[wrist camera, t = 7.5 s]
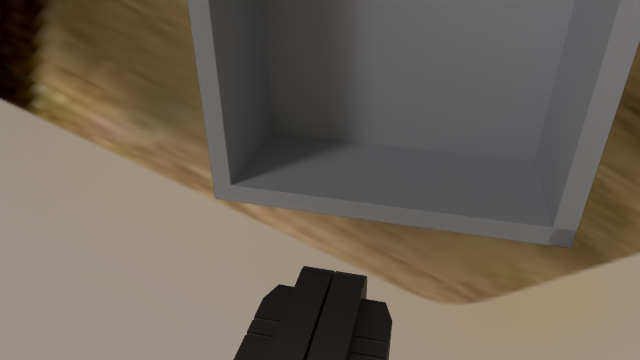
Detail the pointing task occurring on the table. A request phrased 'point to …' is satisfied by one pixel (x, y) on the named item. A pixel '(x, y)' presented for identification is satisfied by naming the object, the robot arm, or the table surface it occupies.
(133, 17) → the table surface
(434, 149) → the tray
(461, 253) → the table surface
